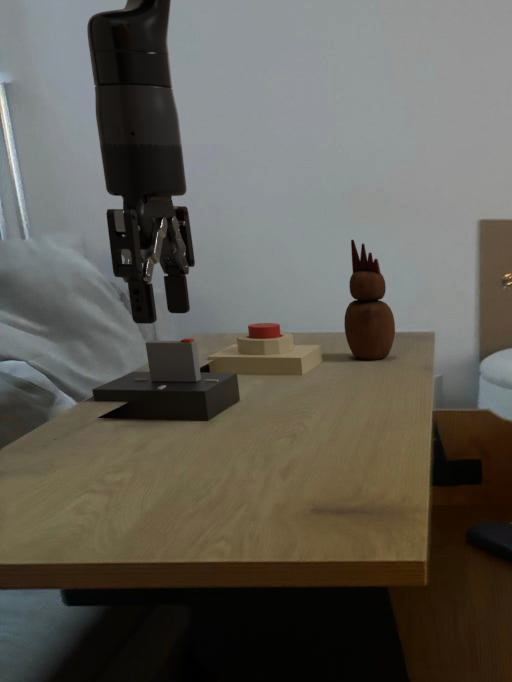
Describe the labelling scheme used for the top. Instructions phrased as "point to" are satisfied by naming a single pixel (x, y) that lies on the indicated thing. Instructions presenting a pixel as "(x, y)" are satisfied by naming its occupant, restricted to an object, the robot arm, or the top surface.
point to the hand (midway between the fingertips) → (163, 317)
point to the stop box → (266, 357)
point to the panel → (169, 397)
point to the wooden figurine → (368, 310)
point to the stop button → (264, 330)
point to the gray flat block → (173, 361)
